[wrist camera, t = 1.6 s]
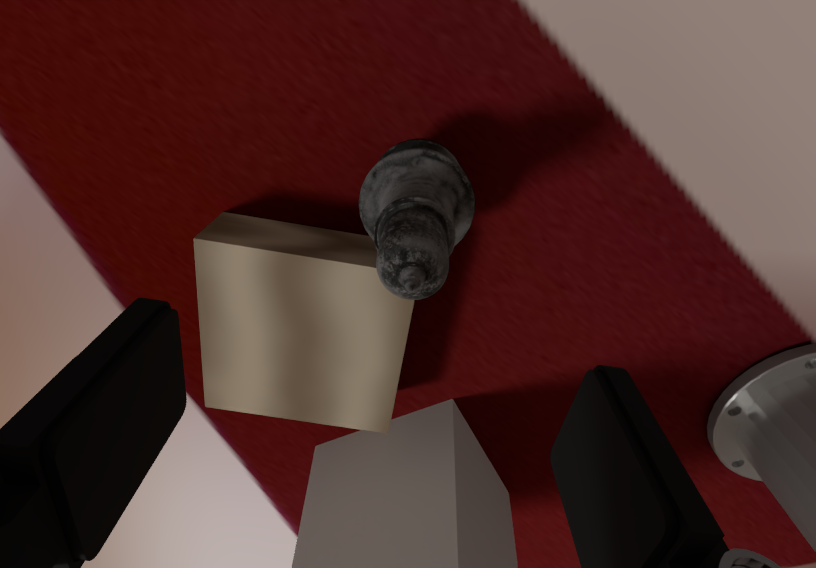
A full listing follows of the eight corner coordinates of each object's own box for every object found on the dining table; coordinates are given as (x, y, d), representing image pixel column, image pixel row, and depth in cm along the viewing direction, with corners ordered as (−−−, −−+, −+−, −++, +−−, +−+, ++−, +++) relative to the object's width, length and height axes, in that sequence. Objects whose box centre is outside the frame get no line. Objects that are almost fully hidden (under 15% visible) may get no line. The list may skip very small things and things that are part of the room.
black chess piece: (445, 114, 25) (457, 178, 14) (484, 211, 27) (520, 326, 17) (348, 161, 26) (293, 250, 15) (394, 248, 28) (373, 376, 18)
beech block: (420, 244, 28) (419, 275, 25) (392, 392, 34) (388, 433, 30) (223, 211, 28) (193, 238, 24) (228, 367, 33) (205, 406, 30)
